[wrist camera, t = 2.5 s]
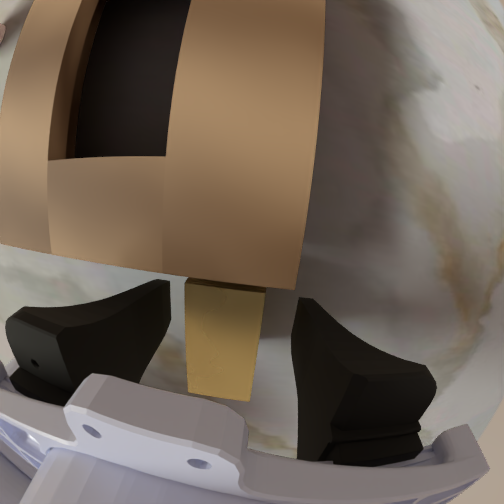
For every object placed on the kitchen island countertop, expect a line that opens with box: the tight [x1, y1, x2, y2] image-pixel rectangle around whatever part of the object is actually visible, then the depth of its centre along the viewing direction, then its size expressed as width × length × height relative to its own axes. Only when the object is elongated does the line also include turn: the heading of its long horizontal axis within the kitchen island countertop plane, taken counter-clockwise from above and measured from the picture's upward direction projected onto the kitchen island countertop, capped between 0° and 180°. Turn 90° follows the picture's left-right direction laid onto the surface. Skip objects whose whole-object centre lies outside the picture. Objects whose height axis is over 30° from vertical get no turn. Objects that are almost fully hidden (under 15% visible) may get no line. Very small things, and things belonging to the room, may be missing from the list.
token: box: [185, 277, 266, 402], centre depth 11 cm, size 5×2×4 cm, turn 174°
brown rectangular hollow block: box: [0, 0, 325, 290], centre depth 8 cm, size 14×12×5 cm
